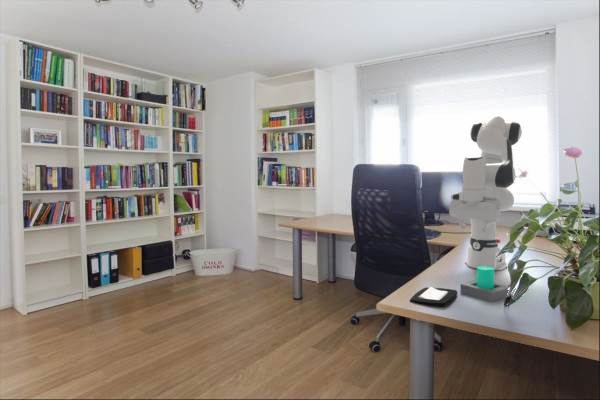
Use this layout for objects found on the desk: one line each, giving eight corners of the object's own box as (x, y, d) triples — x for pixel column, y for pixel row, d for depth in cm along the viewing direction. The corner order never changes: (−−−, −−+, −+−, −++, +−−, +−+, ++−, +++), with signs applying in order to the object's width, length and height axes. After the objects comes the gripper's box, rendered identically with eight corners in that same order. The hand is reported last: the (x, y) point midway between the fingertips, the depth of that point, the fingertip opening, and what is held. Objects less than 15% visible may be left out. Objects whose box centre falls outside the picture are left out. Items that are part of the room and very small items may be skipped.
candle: (496, 296, 144) (498, 265, 143) (481, 297, 144) (482, 265, 143) (488, 291, 150) (489, 261, 149) (473, 292, 150) (474, 262, 149)
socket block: (479, 287, 156) (479, 278, 156) (511, 295, 145) (512, 286, 145) (460, 292, 149) (460, 283, 149) (492, 302, 138) (492, 292, 138)
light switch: (423, 284, 155) (459, 287, 146) (424, 291, 155) (460, 294, 147) (406, 297, 139) (445, 301, 130) (406, 305, 139) (446, 310, 131)
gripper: (504, 197, 145) (503, 232, 146) (456, 194, 162) (455, 226, 163) (495, 198, 142) (494, 235, 143) (447, 195, 158) (446, 227, 160)
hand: (473, 230), depth 153 cm, fingers open, 8 cm apart
